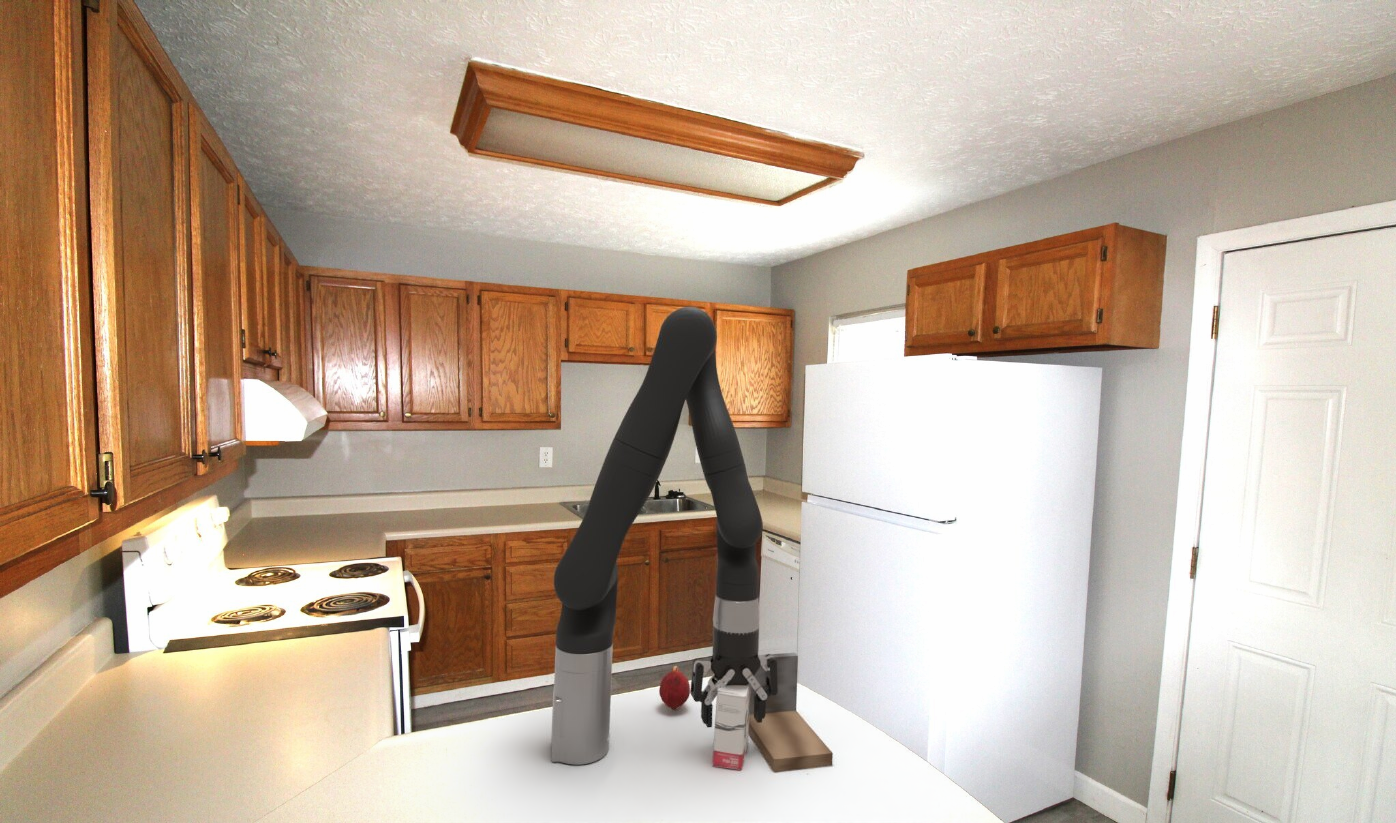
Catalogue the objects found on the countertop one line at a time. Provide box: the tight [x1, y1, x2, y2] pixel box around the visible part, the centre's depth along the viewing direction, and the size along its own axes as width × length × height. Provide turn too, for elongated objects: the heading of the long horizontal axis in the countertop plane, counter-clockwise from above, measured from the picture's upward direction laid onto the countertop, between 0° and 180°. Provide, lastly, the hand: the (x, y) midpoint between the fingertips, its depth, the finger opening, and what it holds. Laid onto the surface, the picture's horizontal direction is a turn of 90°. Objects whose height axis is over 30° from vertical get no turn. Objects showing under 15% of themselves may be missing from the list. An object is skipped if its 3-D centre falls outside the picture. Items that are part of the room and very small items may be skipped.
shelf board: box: [748, 652, 834, 773], centre depth 104 cm, size 10×16×12 cm, turn 14°
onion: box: [658, 665, 691, 711], centre depth 115 cm, size 6×6×8 cm
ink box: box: [711, 683, 751, 771], centre depth 100 cm, size 9×5×12 cm, turn 168°
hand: (733, 722), depth 100 cm, fingers open, 8 cm apart
